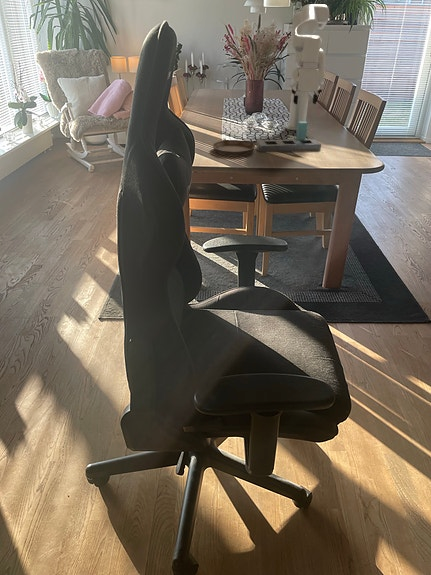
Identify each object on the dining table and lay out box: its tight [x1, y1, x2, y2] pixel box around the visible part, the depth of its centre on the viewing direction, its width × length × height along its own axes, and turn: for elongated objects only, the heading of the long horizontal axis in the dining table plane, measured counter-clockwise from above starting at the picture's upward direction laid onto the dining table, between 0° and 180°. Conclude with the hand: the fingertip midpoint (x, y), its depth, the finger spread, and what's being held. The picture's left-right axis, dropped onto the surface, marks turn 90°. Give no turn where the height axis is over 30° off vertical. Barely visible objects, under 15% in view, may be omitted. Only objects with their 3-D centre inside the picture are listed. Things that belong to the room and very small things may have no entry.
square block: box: [295, 120, 309, 139], centre depth 237 cm, size 4×4×10 cm
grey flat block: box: [255, 138, 322, 153], centre depth 229 cm, size 10×30×3 cm, turn 99°
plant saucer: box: [212, 139, 256, 157], centre depth 223 cm, size 21×21×3 cm
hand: (304, 103), depth 230 cm, fingers open, 9 cm apart
